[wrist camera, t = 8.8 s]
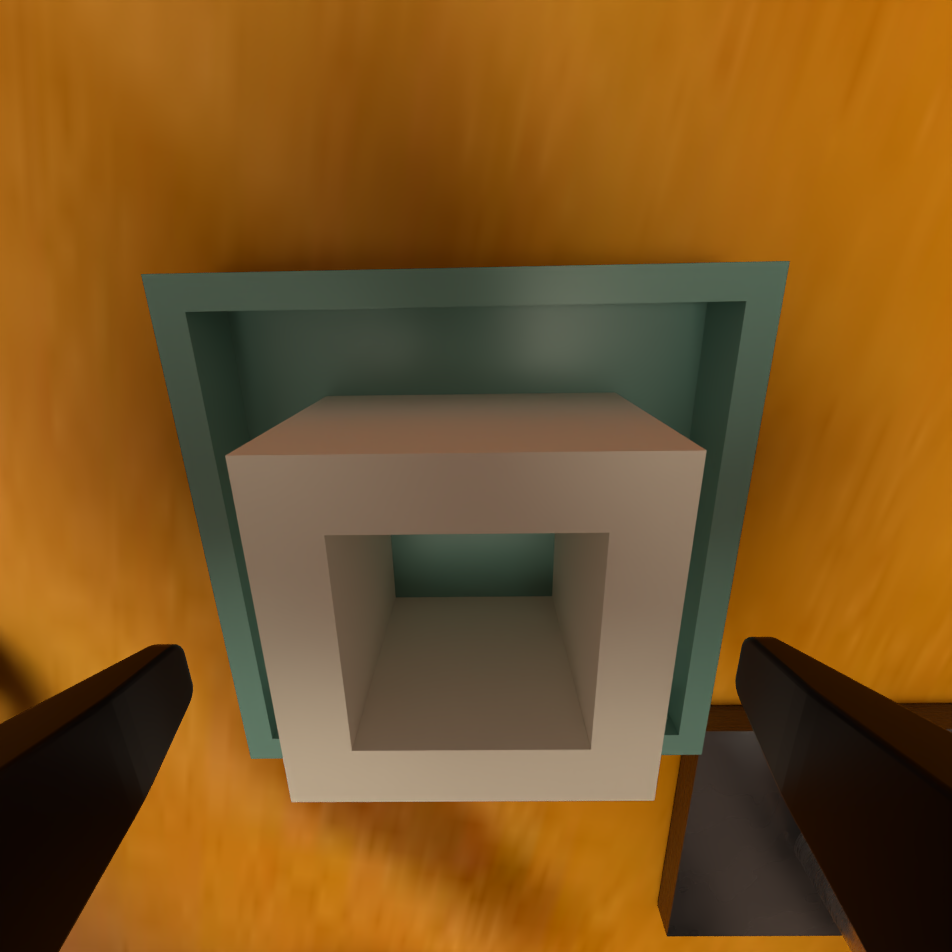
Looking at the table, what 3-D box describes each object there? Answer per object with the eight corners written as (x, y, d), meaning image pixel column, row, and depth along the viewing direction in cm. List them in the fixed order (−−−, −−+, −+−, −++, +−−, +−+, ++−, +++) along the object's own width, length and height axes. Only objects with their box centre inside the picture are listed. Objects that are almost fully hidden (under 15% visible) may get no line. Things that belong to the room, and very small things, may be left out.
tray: (726, 270, 12) (789, 260, 9) (667, 686, 16) (701, 754, 13) (209, 280, 12) (140, 274, 9) (285, 690, 16) (251, 758, 13)
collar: (595, 634, 14) (653, 800, 9) (354, 636, 14) (291, 801, 9) (614, 392, 12) (706, 450, 7) (326, 395, 12) (225, 455, 7)
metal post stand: (998, 703, 16) (1328, 955, 10) (912, 904, 19) (1118, 1186, 13) (689, 706, 16) (822, 957, 10) (657, 905, 19) (741, 1186, 13)
